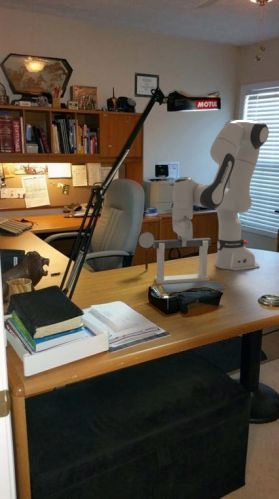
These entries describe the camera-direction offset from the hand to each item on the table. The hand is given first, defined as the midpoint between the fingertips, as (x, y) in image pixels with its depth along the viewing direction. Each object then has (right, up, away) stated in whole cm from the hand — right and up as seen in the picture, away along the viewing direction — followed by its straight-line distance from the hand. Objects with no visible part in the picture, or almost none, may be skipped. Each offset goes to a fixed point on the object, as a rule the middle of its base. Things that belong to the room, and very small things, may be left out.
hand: (182, 245), depth 182 cm
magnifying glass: (-16, -13, +19) cm, 28 cm away
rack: (0, -16, +4) cm, 17 cm away
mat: (+4, -19, -6) cm, 20 cm away
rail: (0, -1, 0) cm, 1 cm away
